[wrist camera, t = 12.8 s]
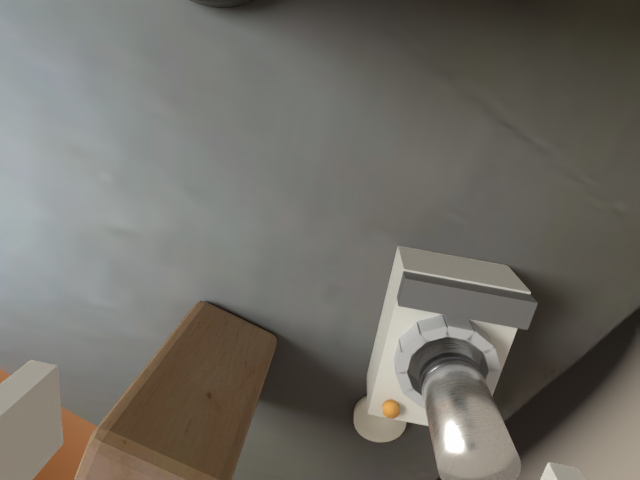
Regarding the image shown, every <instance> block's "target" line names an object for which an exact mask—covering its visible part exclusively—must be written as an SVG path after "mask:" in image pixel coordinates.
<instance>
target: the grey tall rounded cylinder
mask: <svg viewBox="0 0 640 480" xmlns="http://www.w3.org/2000/svg"><path fill="white" fill-rule="evenodd" d="M415 363H416V368H417V372H418V377H419V383H420V388H421V393H422V397H423V401H424V406H425V410H426V415H427V420H428V425H429V429H430V434H431V439H432V444H433V448H434V453H435V458H436V463H437V467H438V472H439V476H440V478H441V480H517V478H518V476H519V474H520V470H521V463H520V458H519V456H518V454H517V451H516V449H515V447H514V444H513V442H512V440H511V438H510V436H509V433H508V431H507V429H506V426H505V424H504V422H503V420H502V417H501V415H500V413H499V411H498V408H497V406H496V404H495V402H494V399H493V397H492V395H491V393H490V390H489V388H488V386H487V384H486V381H485V378H484V376H483V374H482V372H481V369H480V367H479V366H478V363H477V361H476V359H475V357H474V354H473V352H472V350H471V347H470V346H469V344H468V343H467V342H466V341H465V340H462V339H457V338H452V337H444V338H440V339H437V340H433V341H429V342H426V343H425V344H424V345H423V346H422V347H420V348H419V349H418V350H417V351H416V353H415Z"/></svg>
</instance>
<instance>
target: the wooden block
mask: <svg viewBox="0 0 640 480" xmlns="http://www.w3.org/2000/svg"><path fill="white" fill-rule="evenodd" d="M276 346H277V339H276V337H275V336H274V335H273V334H272V333H270V332H268V331H266V330H264V329H262V328H260V327H258V326H255V325H253V324H251V323H249V322H247V321H245V320H243V319H241V318H239V317H237V316H235V315H233V314H230V313H228V312H226V311H224V310H222V309H220V308H218V307H216V306H214V305H212V304H210V303H208V302H203V301H200V302H198V303H197V304H196V305H195V306H193V308H192V309H191V310H190V311H189V313H188V314H187V315H186V316H185V318H184V319H183V320H182V321H181V323H180V324H179V325H178V327H177V328H176V329H175V330H174V332H173V333H172V334H171V335H170V337H169V338H168V339H167V340H166V342H165V343H164V344H163V345H162V347H161V348H160V349H159V350H158V352H157V353H156V354H155V355H154V357H153V358H152V359H151V360H150V362H149V363H148V364H147V365H146V367H145V368H144V369H143V370H142V372H141V373H140V374H139V375H138V377H137V378H136V379H135V380H134V382H133V383H132V384H131V385H130V387H129V388H128V389H127V390H126V392H125V393H124V394H123V395H122V397H121V398H120V399H119V400H118V402H117V403H116V404H115V405H114V407H113V408H112V409H111V410H110V412H109V413H108V414H107V415H106V417H105V418H104V419H103V420H102V422H101V423H100V424H99V425H98V427H97V428H96V429H95V430H94V432H93V433H92V434H91V437H90V439H89V442H88V445H87V447H86V450H85V453H84V455H83V457H82V460H81V463H80V465H79V468H78V471H77V473H76V476H75V478H74V480H232V477H233V474H234V471H235V468H236V465H237V462H238V459H239V456H240V453H241V450H242V447H243V444H244V441H245V438H246V435H247V432H248V429H249V426H250V423H251V420H252V417H253V414H254V411H255V408H256V405H257V402H258V399H259V396H260V393H261V390H262V387H263V385H264V382H265V379H266V376H267V373H268V370H269V367H270V364H271V361H272V358H273V355H274V352H275V349H276Z"/></svg>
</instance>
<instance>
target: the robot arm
mask: <svg viewBox="0 0 640 480" xmlns="http://www.w3.org/2000/svg"><path fill="white" fill-rule="evenodd" d="M191 1H194V2H197V3H200V4H203V5H207V6H213V7H232V6H238V5H242V4H245V3H248V2H251V1H253V0H191ZM62 444H63V433H62V418H61V404H60V390H59V375H58V365H54V364H49V363H44V362H39V361H34V360H30V361H28V362H27V363H26V364H25V365H23V366H22V367H21V368H19V369H18V370H17V371H16V372H14V373H13V374H12V375H11V376H10V377H8V378H7V379H6V380H4V381H3V382H2V383H1V384H0V480H32V479H33V478H34V477H35V476H36V475H37V474H38V472H39V471H40V470H41V469H42V468H43V467H44V465H45V464H46V463H47V462H48V461H49V459H50V458H51V457H52V456H53V455H54V454H55V453H56V451H57V450H58V449H59V448H60V446H62ZM540 480H585V478H584V477H583V475H582V473H581V472H580V470H579V468H576V467H571V466H566V465H561V464H556V463H551V462H548V464H547V466H546V468H545V470H544V472H543V475H542V477H541V479H540Z"/></svg>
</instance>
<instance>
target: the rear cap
mask: <svg viewBox="0 0 640 480" xmlns="http://www.w3.org/2000/svg"><path fill="white" fill-rule="evenodd" d="M354 426H355V429H356V430H357V432H358V433H359V434H360V435H361V436H362V437H364V438H365V439H367V440H370V441H373V442H389V441H392V440H394V439H396V438H398V437H399V436H400V435H401V434H402V433H403V432H404V430H405V427H406V422H405V421H400V420H395V419H390V418H385V417H380V416H375V415H370V414H368V413H367V396H365V397H363V398H362V399H360V400H359V401H358V402H357V404H356V406H355V408H354Z"/></svg>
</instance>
